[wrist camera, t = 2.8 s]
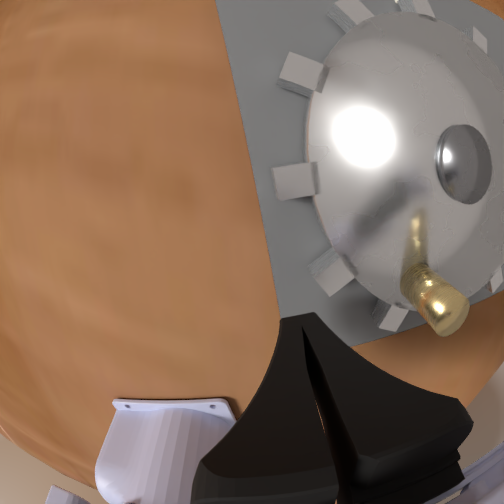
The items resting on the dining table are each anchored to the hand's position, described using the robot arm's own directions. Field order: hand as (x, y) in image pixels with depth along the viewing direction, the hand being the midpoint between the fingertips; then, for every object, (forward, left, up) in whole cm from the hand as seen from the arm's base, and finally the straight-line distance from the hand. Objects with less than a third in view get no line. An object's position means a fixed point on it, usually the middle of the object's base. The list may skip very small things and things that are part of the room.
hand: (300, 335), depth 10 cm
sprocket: (+9, +6, -3) cm, 11 cm away
